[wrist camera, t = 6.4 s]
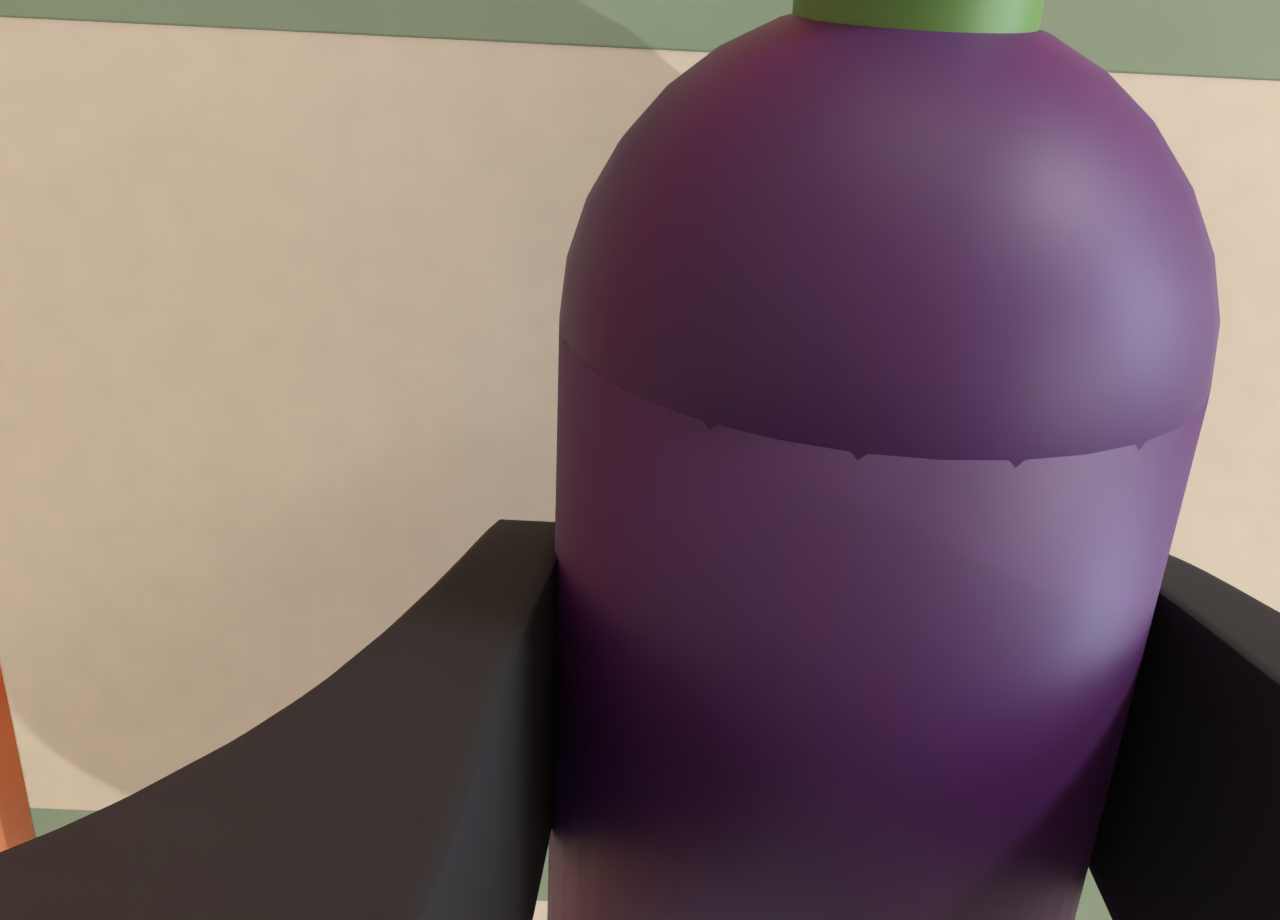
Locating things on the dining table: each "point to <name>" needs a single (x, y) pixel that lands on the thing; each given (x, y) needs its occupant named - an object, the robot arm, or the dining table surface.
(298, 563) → the towel
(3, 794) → the dining table surface
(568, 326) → the eggplant
